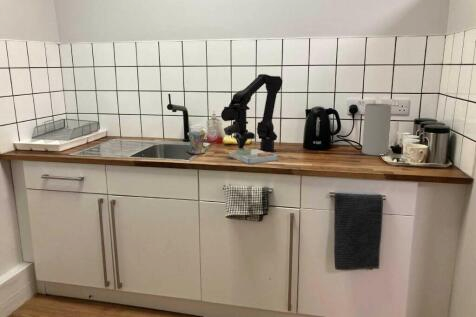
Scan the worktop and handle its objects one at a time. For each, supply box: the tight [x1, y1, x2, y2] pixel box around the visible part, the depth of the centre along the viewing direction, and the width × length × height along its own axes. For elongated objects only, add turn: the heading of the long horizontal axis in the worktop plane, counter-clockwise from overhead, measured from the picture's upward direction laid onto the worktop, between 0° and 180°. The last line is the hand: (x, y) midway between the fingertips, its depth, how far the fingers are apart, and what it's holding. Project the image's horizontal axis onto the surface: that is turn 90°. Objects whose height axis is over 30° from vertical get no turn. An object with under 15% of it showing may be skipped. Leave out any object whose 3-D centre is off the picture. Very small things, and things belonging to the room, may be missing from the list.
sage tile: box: [236, 147, 251, 155], centre depth 196 cm, size 5×5×2 cm
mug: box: [187, 131, 206, 155], centre depth 206 cm, size 12×9×11 cm
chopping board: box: [228, 148, 264, 161], centre depth 200 cm, size 16×11×2 cm
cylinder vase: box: [361, 103, 393, 157], centre depth 203 cm, size 12×12×25 cm
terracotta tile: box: [258, 152, 273, 157], centre depth 194 cm, size 5×5×2 cm
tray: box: [238, 152, 279, 165], centre depth 191 cm, size 16×9×2 cm, turn 118°
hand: (240, 150), depth 199 cm, fingers closed
